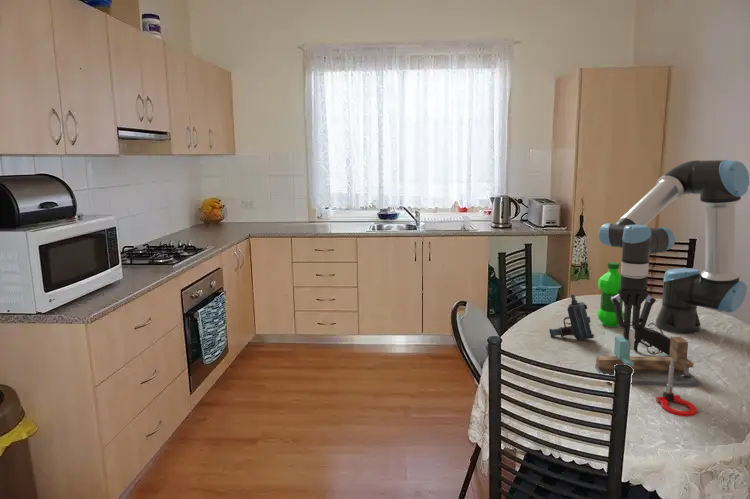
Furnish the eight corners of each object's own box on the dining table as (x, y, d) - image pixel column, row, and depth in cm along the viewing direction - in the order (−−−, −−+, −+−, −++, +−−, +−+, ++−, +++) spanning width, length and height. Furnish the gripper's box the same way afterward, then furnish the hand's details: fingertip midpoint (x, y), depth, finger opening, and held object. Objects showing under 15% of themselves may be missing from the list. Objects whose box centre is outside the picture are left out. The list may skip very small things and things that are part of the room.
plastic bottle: (620, 320, 214) (623, 260, 209) (627, 329, 203) (631, 266, 199) (594, 320, 215) (596, 260, 211) (600, 328, 205) (603, 266, 201)
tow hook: (704, 416, 139) (679, 398, 148) (709, 371, 136) (684, 356, 145) (674, 419, 138) (652, 401, 147) (679, 374, 135) (656, 358, 144)
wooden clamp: (680, 364, 167) (682, 336, 165) (695, 378, 157) (698, 348, 155) (595, 363, 170) (596, 335, 168) (604, 376, 160) (606, 347, 158)
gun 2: (671, 374, 176) (689, 351, 172) (625, 345, 182) (641, 323, 178) (671, 371, 178) (689, 348, 174) (626, 343, 185) (642, 320, 181)
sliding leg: (623, 363, 169) (624, 336, 167) (634, 376, 159) (636, 347, 157) (613, 363, 169) (615, 336, 167) (624, 376, 159) (626, 347, 158)
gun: (542, 299, 199) (583, 292, 192) (553, 341, 200) (594, 335, 194) (541, 301, 197) (583, 294, 190) (552, 343, 198) (594, 337, 191)
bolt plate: (680, 369, 167) (681, 364, 166) (699, 385, 155) (699, 381, 155) (595, 367, 170) (595, 363, 169) (607, 383, 158) (607, 379, 158)
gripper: (651, 272, 164) (646, 344, 168) (608, 272, 165) (604, 343, 169) (661, 278, 156) (656, 353, 161) (616, 278, 158) (612, 352, 162)
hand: (629, 348), depth 165 cm, fingers closed
